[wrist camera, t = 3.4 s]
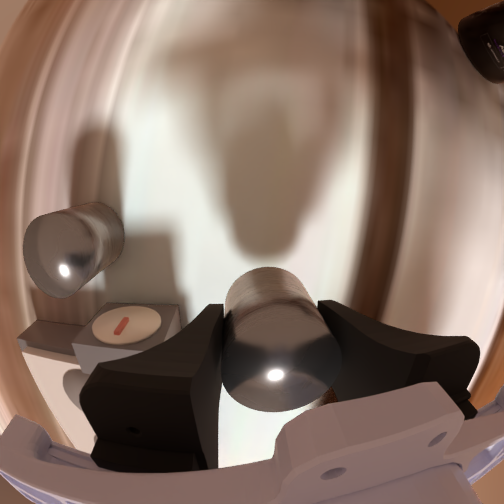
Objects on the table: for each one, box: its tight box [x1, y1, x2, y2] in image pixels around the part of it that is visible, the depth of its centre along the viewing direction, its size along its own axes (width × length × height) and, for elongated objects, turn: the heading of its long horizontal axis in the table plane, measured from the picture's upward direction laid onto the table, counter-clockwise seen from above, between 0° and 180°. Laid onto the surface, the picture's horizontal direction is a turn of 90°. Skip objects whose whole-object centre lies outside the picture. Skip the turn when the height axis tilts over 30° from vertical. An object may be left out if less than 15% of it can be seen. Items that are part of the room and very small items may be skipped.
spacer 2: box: [221, 267, 342, 412], centre depth 11 cm, size 4×4×5 cm
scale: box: [17, 303, 181, 454], centre depth 15 cm, size 13×15×5 cm
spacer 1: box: [23, 202, 124, 298], centre depth 12 cm, size 4×4×5 cm
